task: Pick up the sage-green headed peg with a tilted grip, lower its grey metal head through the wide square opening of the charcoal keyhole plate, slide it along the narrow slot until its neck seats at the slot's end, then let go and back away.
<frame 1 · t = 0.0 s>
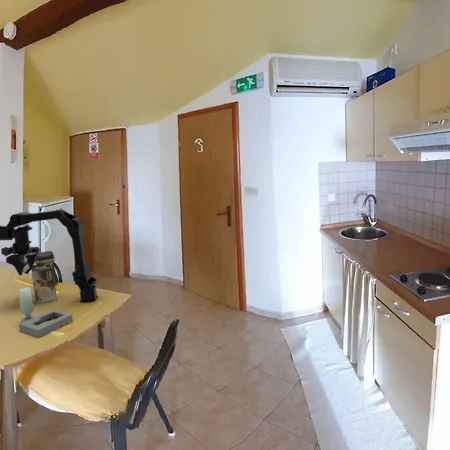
hand: (25, 272, 161), 15 cm above the table, tool pointing down, fingers open, 9 cm apart
peg: (28, 320, 143), on the table
coffee jar: (47, 285, 185), on the table
coffee box: (46, 300, 165), on the table
keyhole plate: (43, 327, 137), on the table
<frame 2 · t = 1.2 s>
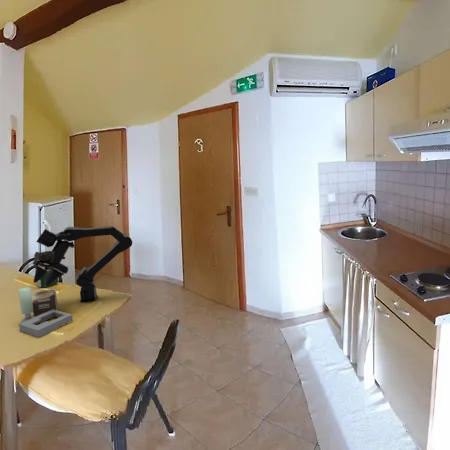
hand: (40, 283, 148), 13 cm above the table, tool tilted 40°, fingers open, 9 cm apart
coffee box: (45, 295, 161), point 3 cm above the table
everything else where it was.
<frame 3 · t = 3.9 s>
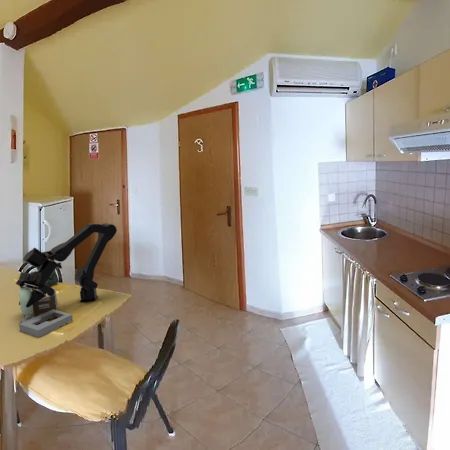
hand: (23, 306, 141), 7 cm above the table, tool tilted 45°, fingers closed on peg, 4 cm apart
peg: (28, 320, 143), on the table, touching gripper
everything else where it was.
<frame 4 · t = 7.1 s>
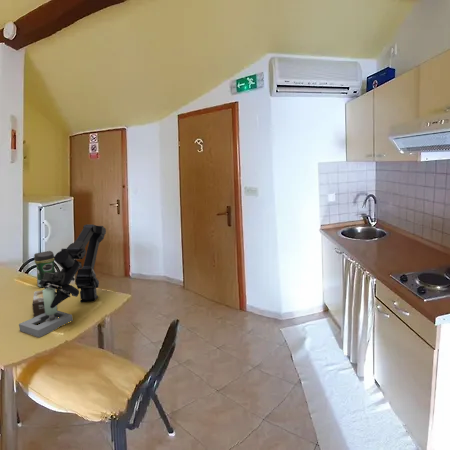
hand: (47, 306, 138), 8 cm above the table, tool tilted 45°, fingers closed on peg, 4 cm apart
peg: (52, 321, 140), point 1 cm above the table, touching gripper
everything else where it was.
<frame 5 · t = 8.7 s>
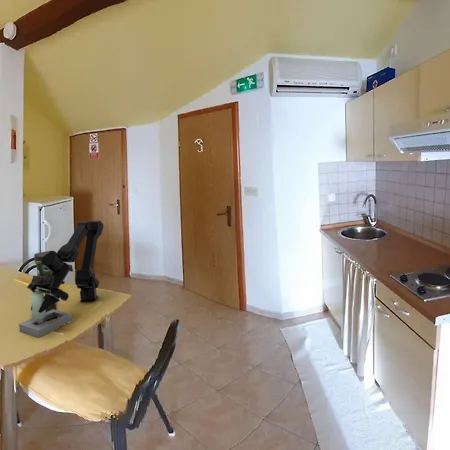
hand: (35, 311, 133), 8 cm above the table, tool tilted 45°, fingers closed on peg, 4 cm apart
peg: (41, 326, 136), point 1 cm above the table, touching gripper
everything else where it was.
when the fingers open (7 cm above the table, at t = 10.3 s): peg stays where it is, resting in keyhole plate.
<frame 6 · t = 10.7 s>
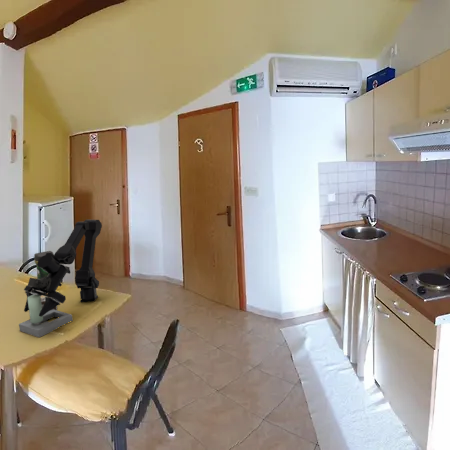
hand: (32, 313, 132), 7 cm above the table, tool tilted 45°, fingers open, 9 cm apart
peg: (38, 329, 135), resting in keyhole plate
everything else where it was.
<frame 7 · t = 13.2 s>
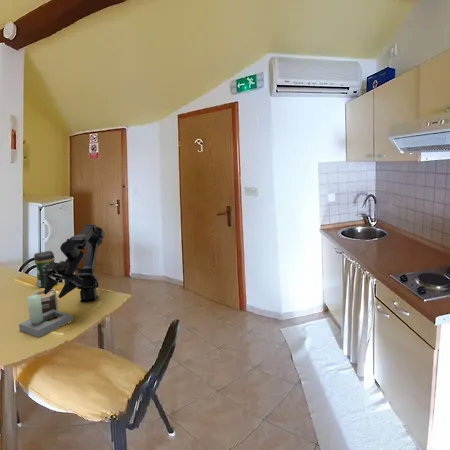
hand: (51, 295, 139), 12 cm above the table, tool tilted 45°, fingers open, 9 cm apart
nothing on the table moved.
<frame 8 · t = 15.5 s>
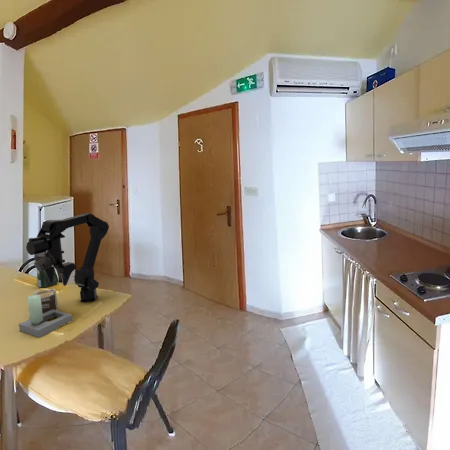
hand: (58, 283, 149), 13 cm above the table, tool pointing down, fingers open, 9 cm apart
nothing on the table moved.
at the end: peg 0.2 cm from the target spot on the keyhole plate, point 0.0 cm above the keyhole plate's base; peg tilted 0°; the gripper is holding nothing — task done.
